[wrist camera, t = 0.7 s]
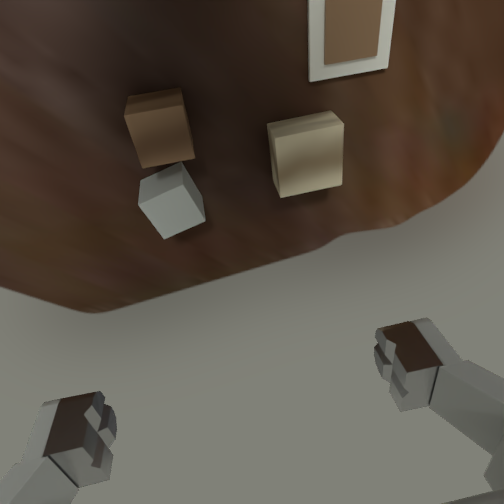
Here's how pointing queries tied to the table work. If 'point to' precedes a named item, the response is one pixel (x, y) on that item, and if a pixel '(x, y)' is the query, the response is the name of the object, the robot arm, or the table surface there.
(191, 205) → the grey cube
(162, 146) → the walnut cube
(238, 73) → the table surface
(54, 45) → the table surface
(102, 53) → the table surface
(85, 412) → the robot arm
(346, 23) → the swatch
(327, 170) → the oak base block
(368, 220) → the table surface
